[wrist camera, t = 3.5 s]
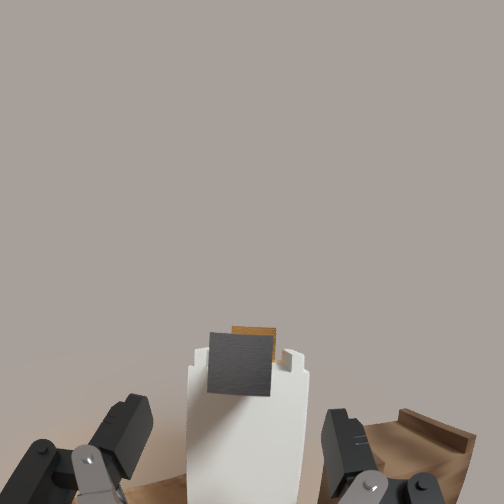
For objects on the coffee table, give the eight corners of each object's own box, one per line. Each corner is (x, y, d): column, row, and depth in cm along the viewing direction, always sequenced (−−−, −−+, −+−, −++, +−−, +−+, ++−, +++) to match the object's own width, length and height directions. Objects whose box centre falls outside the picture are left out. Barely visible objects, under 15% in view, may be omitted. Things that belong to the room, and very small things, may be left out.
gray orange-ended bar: (273, 360, 33) (275, 328, 34) (291, 397, 12) (295, 315, 13) (232, 358, 33) (234, 326, 34) (186, 390, 12) (191, 310, 13)
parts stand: (275, 545, 24) (294, 349, 33) (278, 593, 12) (310, 354, 22) (209, 541, 24) (213, 345, 34) (194, 587, 13) (189, 348, 22)
